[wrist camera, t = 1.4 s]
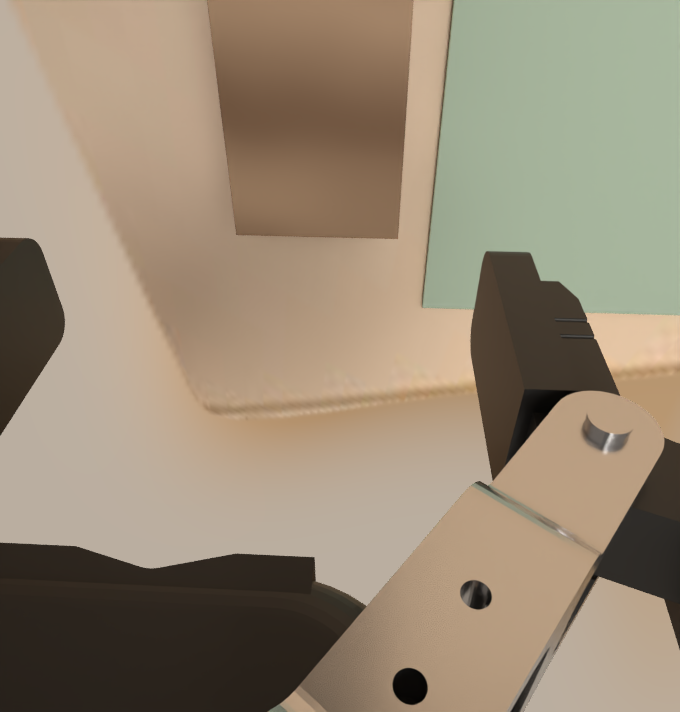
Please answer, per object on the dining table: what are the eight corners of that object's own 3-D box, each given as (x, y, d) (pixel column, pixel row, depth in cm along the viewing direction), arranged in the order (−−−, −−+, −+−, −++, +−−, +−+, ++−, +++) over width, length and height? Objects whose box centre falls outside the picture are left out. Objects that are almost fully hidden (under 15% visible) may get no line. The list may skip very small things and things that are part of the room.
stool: (246, -116, 23) (194, -98, 16) (409, -116, 22) (419, -98, 16) (267, 151, 29) (236, 235, 23) (394, 153, 29) (397, 238, 23)
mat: (470, -171, 21) (472, -171, 21) (890, -172, 21) (898, -172, 20) (422, 303, 34) (422, 307, 34) (679, 310, 34) (682, 315, 33)
